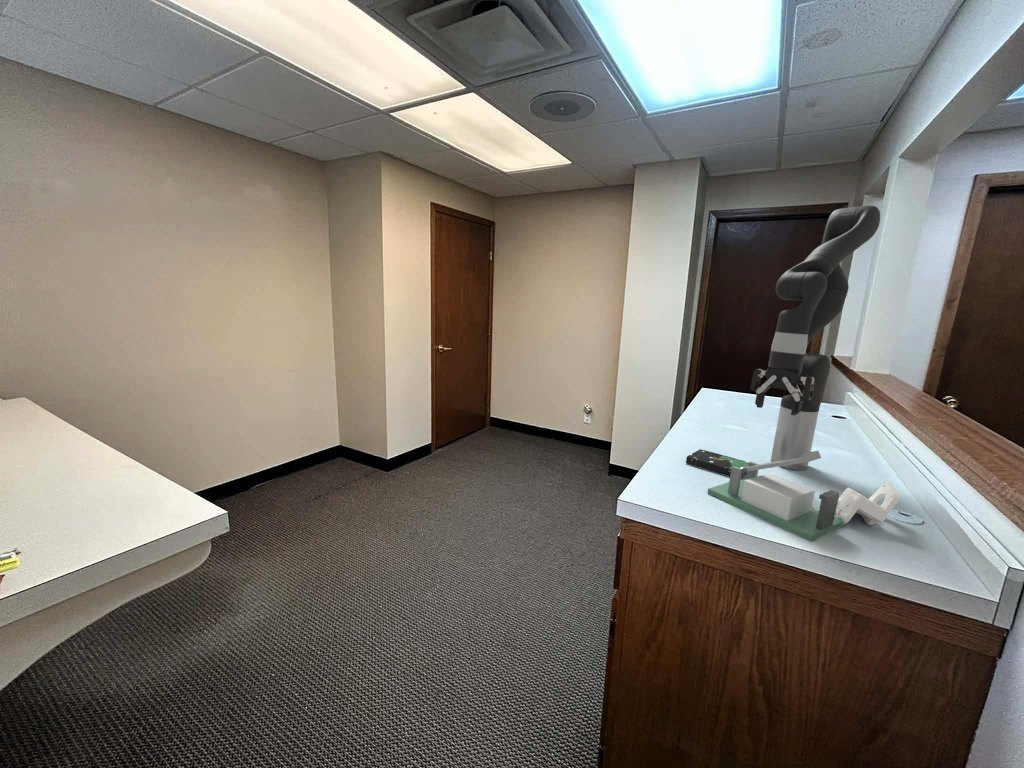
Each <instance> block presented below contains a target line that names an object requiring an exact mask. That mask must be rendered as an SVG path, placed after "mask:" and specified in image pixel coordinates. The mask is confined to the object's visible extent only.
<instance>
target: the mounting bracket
mask: <svg viewBox="0 0 1024 768" xmlns="http://www.w3.org/2000/svg"><path fill="white" fill-rule="evenodd" d="M882 498H884V500H883V501H882V503H881V504H880V505H879V504H878V502H879V501H880V500H881V499H882ZM900 499H901V495H900V494H899V492H898V491H897V489H896V488H895V487H894V484H892V483H891V482H889V481H886V482H884V483H883V484H882V485H881V486H880V487H879V488H878V489H876V491H875V492H874V493H873V494H872V495H871V496H870V497H869V498H867V497H866V496H865V495H863V494H861V493H858V492H857V491H855V490H853V489H852V488H850V487H847V488H846V489H845V490H844V491H843V492H842V494H841V495H839V498H838V503H837V507H836V512H835V518H838V519H840V520H842V521H843V524H842V526H844V525H847V524H848V523H849V521H851V519H852V518H853V516H854V515H855V514H856V513H857V514H858V515H860V516H861V517H863V520H864V522H865V524H867V525H868V526H870V527H871V526H872V527H873V525H875V524H876V523H877V524H882V523H883V522H884V521H885V520H886V518H887V517H888V515H889V514H890V513H891V512H892V510H893V508H895V506H896V505H897V503H898V502H899V501H900Z"/></svg>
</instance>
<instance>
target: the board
mask: <svg viewBox="0 0 1024 768" xmlns="http://www.w3.org/2000/svg"><path fill="white" fill-rule="evenodd" d="M748 462H749V464H748V465H752V466H753V465H759V464H760V463H756V462H754V461H748ZM758 474H759V470H753V471H747V475H745V477H746V479H745V480H744V479H741V475H742V469H741V468H738V467H735V466H733V467H732V469H731V475H730V477H729V482H726V483H721V484H719V485H714V486H712V487H709V488H708V489H707V494H709V495H710V496H713V497H715V498H717V499H719V500H721V501H723V502H726V503H728V504H730V505H732V506H734V507H737V508H739V509H741V510H743V511H745V512H747V513H749V514H752V515H754V516H756V517H759V518H761V519H762V520H764V521H767V522H769V523H771V524H773V525H776V526H777V527H780V528H782V529H784V530H786V531H788V532H790V533H792V534H794V535H797V536H799V537H800V538H801V537H802V538H804V539H806V540H808V541H810V542H813V541H815V540H817V539H819V538H821V537H823V536H825V535H827V534H829V533H832V532H833V531H835V530H837V529H839V528H841V527H843V521H842V520H840V519H838V518H836V516H834V521H833V525H831V526H829V527H827V528H825V529H823V530H819V529H817V528H816V523H817V518H818V513H819V509H815V508H812V507H813V503H814V499H815V494H816V489H814V488H812V487H808V486H806V485H802V484H800V483H797V482H795V481H792V480H790V479H787V478H784V477H781V476H778V475H776V474H773V473H770V472H767V473H764V474H761V475H758Z"/></svg>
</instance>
